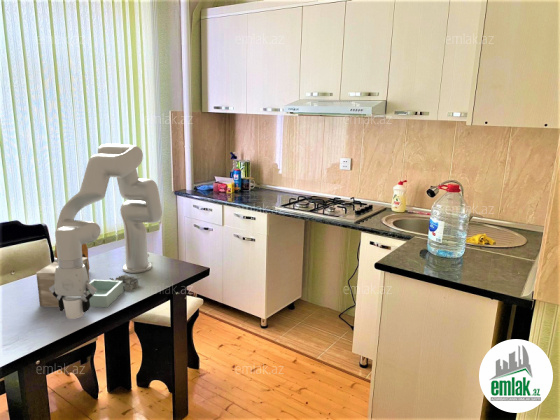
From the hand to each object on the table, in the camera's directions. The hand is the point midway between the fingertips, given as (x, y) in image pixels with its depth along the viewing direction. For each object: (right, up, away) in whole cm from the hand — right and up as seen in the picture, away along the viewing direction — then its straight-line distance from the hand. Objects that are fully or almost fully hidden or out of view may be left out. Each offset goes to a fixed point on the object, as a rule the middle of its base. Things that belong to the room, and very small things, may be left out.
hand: (74, 309), depth 143 cm
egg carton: (+8, +3, +25) cm, 27 cm away
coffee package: (-17, +6, +34) cm, 39 cm away
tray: (+3, +1, +14) cm, 14 cm away
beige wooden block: (-10, +2, +14) cm, 18 cm away
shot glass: (0, -2, +1) cm, 2 cm away
